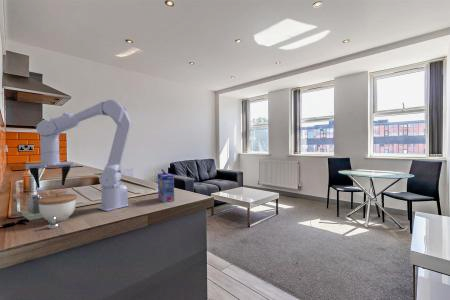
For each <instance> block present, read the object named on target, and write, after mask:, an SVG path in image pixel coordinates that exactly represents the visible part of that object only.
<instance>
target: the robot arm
mask: <svg viewBox="0 0 450 300" xmlns="http://www.w3.org/2000/svg"><path fill="white" fill-rule="evenodd" d="M128 113H129V112H128V110H127V109H126V108H125V106H123V104H121V103H119V102H118V101H116V100H115V99H108V100H105V101H100V102H99V103H97V104H94V105H92V106H90V107H88V108H85V109H84V110H80V111H79V112H76V113H72V112H63V113H62V115H60V116H58V117H55V118H54V117H51V118H50V120H47V119H46V120H41V121H39V122H38V123H37V125H36V131H37V133H38V134H39V136H40V137H39V139H40V140H39V142H40V144H39V145H40V163H26V164H25V170H26V171H28V170H29V172H30V174H31V176H32V177H33V180H34V181H35V184H36V188H37V189H40V180H39V179H40V178H39V177H40V176H39V174H40V173H39V170H40V169H55V168H57V169H58V168H61V186H65V184H66V179H67V176H68V174H69V172H70V170H71V168H72V167H74V162H73V161H63V162H62V161H60V135H61V134H62V133H63V132H66V131H69V130H70V129H73V128H76V127H78V126H79V124H80V122H83V121H86V120H88V119H91V118H95V117H98V116H106V117H109V118H111V119H112V120H113V123H115V124H116V129H115V133H114V137H113V141H112V145H111V148H110V153H109V156H108V159H107V163H106V165H105V167H104V169H103V172H102V173H101V174H100V175H99V179H98V181H99V184H100V189H101V190H100V191H101V192H100V193H101V196H100V197H101V205H99V206H97V207H96V208H97V209H100V210H103V211H105V212H108V211H113V210H118V209H120V208H125V207H128V206H129V203H128V202H129V201H128V198H129V197H128V196H129V195H128V192H129V191H128V188H127V186H126V185H125V184H121V180H122V177H123V175H122V168H123V167H122V161H123V158H124V155H125V150H126V146H127V142H128V138H129V135H130V130H131V128H132V122H131V119H130V116H129V114H128Z"/></svg>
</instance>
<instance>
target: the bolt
mask: <svg viewBox="0 0 450 300" xmlns="http://www.w3.org/2000/svg"><path fill="white" fill-rule="evenodd" d="M59 227H60V223H59V222H56V216H52V217H50V222H49V223H48V224H47V225H46V229H47V230H53V229H54V230H56V229H57V228H59Z"/></svg>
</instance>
